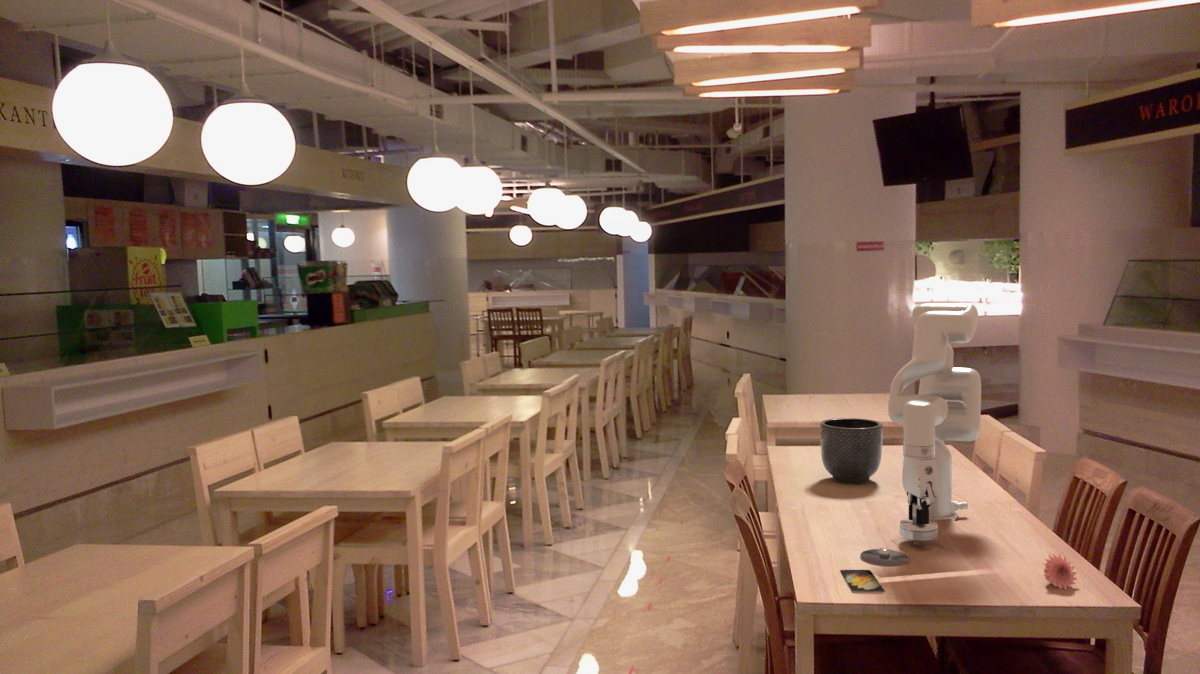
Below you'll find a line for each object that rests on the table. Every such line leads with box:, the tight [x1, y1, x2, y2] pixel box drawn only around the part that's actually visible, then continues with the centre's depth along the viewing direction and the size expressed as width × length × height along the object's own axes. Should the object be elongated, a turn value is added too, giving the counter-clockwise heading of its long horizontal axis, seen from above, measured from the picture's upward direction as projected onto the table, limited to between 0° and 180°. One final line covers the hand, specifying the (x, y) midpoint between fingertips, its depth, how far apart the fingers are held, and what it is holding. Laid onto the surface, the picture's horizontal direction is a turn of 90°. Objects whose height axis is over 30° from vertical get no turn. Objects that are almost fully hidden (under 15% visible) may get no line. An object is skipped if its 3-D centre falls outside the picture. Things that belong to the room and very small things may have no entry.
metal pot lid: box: [860, 547, 909, 567], centre depth 226 cm, size 11×11×3 cm
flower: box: [1043, 553, 1078, 590], centre depth 208 cm, size 8×8×6 cm
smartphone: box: [839, 569, 886, 594], centre depth 213 cm, size 7×1×15 cm
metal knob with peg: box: [899, 503, 939, 541], centre depth 236 cm, size 9×9×8 cm
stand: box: [890, 538, 947, 553], centre depth 236 cm, size 10×10×3 cm
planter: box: [819, 417, 884, 485], centre depth 306 cm, size 20×20×19 cm
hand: (918, 521), depth 236 cm, fingers closed on metal knob with peg, 3 cm apart
